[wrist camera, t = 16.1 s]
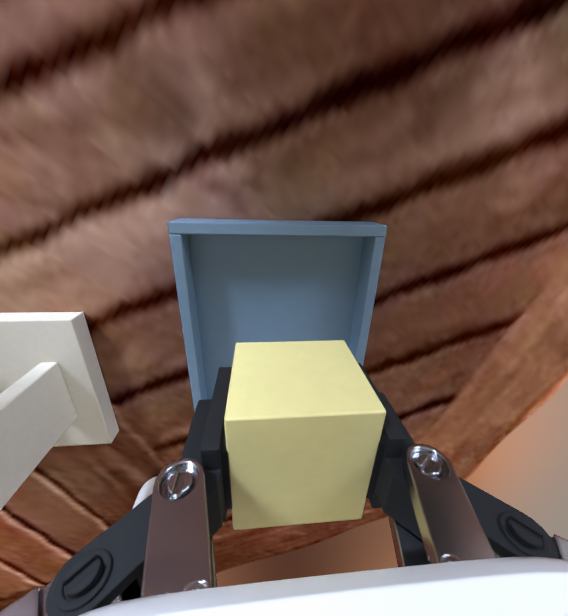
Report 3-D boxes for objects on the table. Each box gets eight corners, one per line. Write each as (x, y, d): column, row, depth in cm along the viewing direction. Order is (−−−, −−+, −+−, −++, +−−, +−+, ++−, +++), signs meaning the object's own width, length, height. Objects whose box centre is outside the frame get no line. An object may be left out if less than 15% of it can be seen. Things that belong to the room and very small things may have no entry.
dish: (178, 218, 15) (166, 221, 13) (372, 221, 16) (388, 225, 14) (201, 401, 20) (195, 424, 18) (345, 395, 21) (354, 415, 19)
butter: (235, 341, 10) (223, 420, 7) (344, 339, 11) (387, 411, 7) (240, 433, 12) (233, 531, 9) (332, 427, 13) (362, 519, 9)
